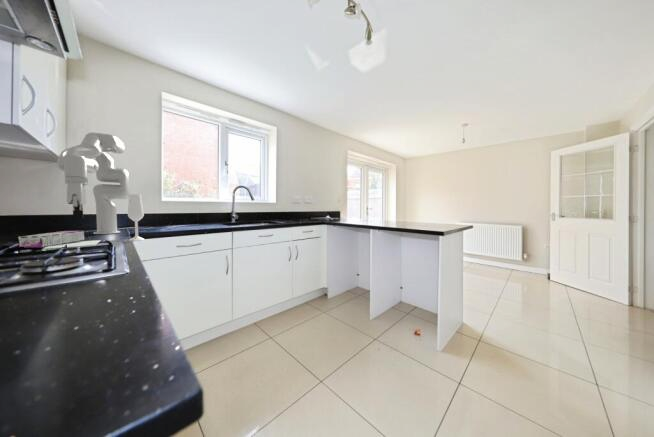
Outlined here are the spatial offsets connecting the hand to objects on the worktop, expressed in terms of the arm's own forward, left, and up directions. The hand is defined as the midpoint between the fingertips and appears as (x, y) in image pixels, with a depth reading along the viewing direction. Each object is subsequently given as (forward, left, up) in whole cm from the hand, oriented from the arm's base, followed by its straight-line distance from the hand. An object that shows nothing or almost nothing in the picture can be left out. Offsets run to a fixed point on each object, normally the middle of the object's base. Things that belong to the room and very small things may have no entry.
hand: (78, 218), depth 114 cm
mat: (+9, 0, -12) cm, 15 cm away
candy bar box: (-2, -2, -8) cm, 9 cm away
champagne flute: (+5, +22, -12) cm, 25 cm away
